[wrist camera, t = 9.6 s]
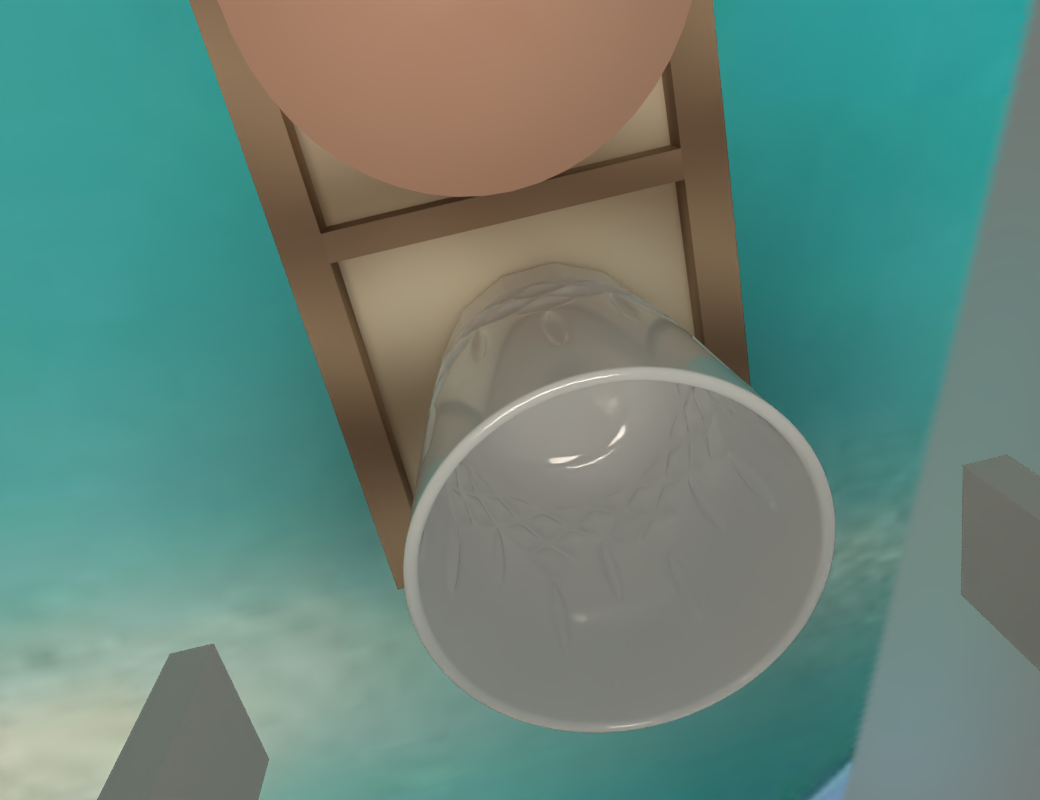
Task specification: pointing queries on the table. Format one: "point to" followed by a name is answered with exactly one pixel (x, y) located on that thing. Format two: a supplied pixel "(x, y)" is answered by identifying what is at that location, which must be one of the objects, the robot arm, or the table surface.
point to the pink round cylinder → (458, 81)
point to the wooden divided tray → (484, 248)
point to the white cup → (605, 512)
